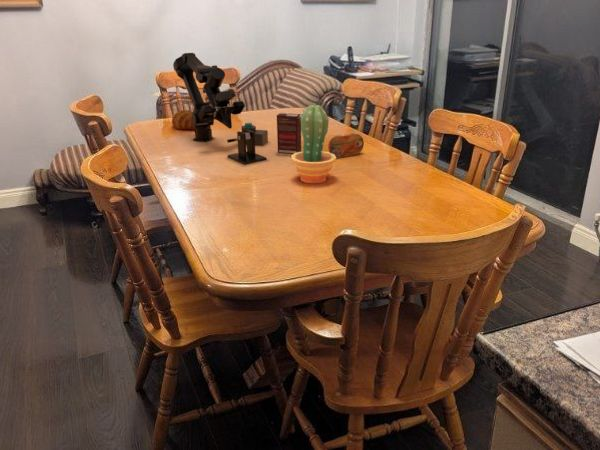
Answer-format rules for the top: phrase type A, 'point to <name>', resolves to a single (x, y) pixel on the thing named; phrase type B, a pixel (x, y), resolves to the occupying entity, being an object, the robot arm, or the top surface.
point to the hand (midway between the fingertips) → (230, 127)
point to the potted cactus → (313, 146)
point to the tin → (346, 145)
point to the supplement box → (288, 133)
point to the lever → (237, 139)
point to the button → (248, 125)
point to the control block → (257, 135)
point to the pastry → (182, 119)
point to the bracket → (249, 155)
